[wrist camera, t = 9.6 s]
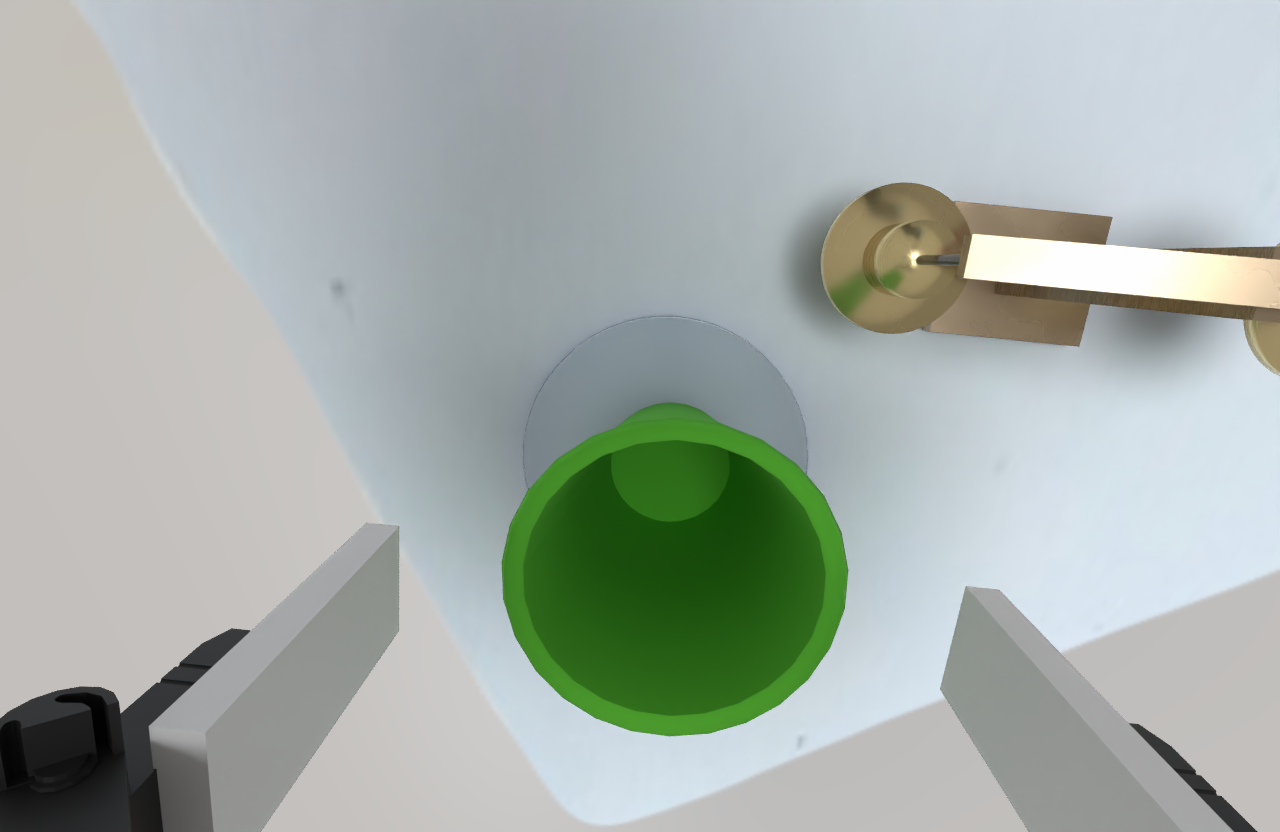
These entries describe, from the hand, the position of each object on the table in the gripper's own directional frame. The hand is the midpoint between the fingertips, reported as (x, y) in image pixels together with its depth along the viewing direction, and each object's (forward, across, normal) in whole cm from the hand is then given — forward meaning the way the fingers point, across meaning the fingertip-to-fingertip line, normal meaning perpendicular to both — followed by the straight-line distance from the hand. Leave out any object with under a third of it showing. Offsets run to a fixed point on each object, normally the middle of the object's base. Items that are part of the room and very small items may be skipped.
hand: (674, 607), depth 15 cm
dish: (+14, 0, -1) cm, 14 cm away
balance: (+14, +13, +8) cm, 21 cm away
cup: (+13, 0, -1) cm, 13 cm away
